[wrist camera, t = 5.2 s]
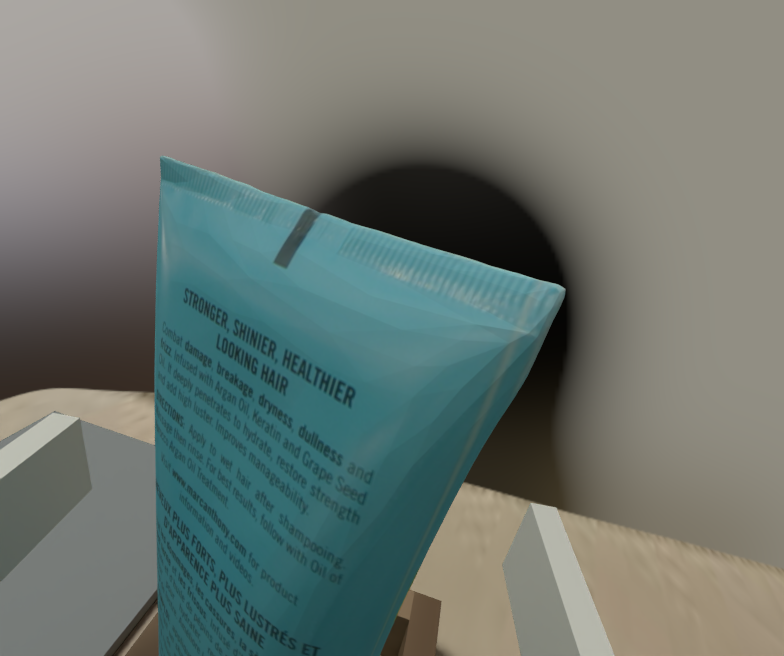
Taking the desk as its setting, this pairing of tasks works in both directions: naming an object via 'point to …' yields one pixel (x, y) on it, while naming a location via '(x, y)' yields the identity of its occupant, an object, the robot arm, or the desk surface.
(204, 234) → the tube
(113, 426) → the desk surface
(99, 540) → the mat
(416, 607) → the holder
